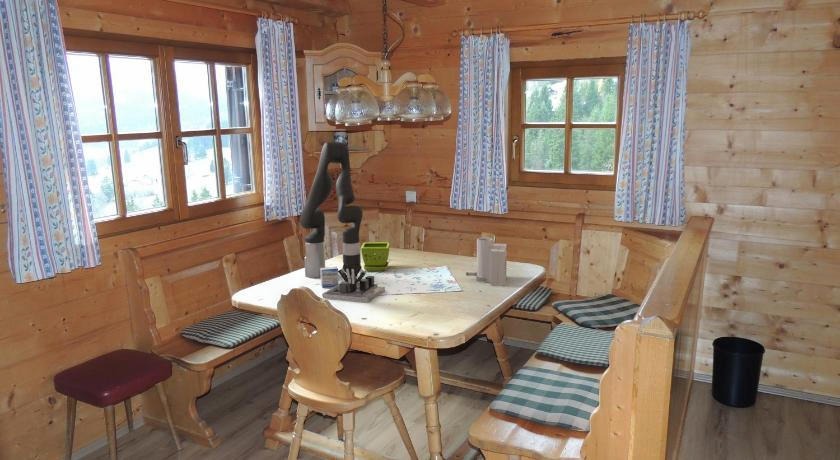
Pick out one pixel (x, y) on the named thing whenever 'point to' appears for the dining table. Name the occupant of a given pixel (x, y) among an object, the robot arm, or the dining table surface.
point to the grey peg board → (357, 291)
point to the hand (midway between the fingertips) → (353, 291)
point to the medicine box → (329, 277)
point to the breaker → (344, 287)
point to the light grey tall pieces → (490, 262)
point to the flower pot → (375, 255)
